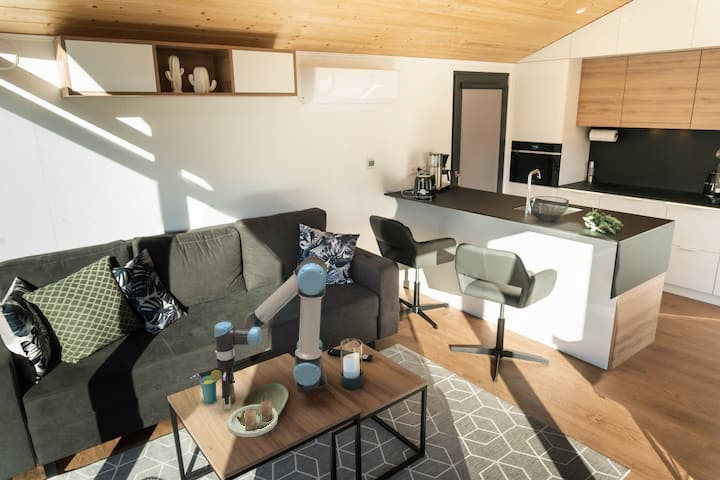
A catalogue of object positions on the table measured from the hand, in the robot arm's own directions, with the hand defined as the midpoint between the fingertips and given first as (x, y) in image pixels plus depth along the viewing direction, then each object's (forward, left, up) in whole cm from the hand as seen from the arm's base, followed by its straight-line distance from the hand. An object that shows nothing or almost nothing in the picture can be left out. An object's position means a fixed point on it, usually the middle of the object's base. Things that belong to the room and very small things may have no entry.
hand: (229, 403), depth 219 cm
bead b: (-12, +22, +1) cm, 25 cm away
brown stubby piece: (0, 0, 0) cm, 0 cm away
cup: (+10, -3, 0) cm, 10 cm away
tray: (-12, +16, 0) cm, 20 cm away
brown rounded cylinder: (-18, +16, +1) cm, 24 cm away
